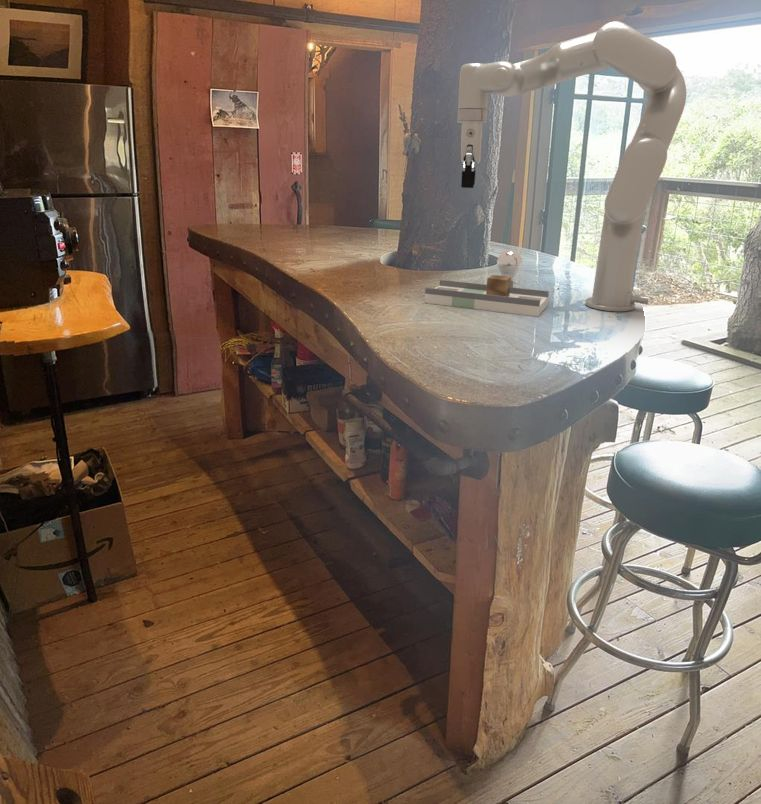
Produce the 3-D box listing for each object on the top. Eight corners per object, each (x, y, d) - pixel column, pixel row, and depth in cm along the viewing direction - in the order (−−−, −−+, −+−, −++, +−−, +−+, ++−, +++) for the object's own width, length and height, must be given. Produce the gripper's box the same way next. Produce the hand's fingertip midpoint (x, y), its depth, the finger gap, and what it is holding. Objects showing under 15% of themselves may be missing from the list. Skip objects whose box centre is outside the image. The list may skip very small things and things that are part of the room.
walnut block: (509, 295, 171) (511, 276, 169) (504, 299, 167) (506, 280, 165) (490, 293, 173) (492, 274, 171) (485, 297, 169) (487, 278, 167)
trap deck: (547, 306, 172) (548, 291, 170) (538, 316, 161) (539, 300, 160) (439, 294, 183) (440, 279, 181) (424, 302, 172) (425, 287, 171)
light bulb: (500, 294, 184) (504, 251, 179) (490, 289, 190) (494, 247, 186) (523, 293, 186) (527, 250, 181) (512, 288, 192) (516, 246, 187)
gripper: (486, 116, 160) (481, 189, 166) (487, 118, 176) (482, 184, 182) (455, 115, 161) (452, 188, 167) (459, 118, 177) (455, 184, 183)
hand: (467, 186), depth 175 cm, fingers open, 9 cm apart
